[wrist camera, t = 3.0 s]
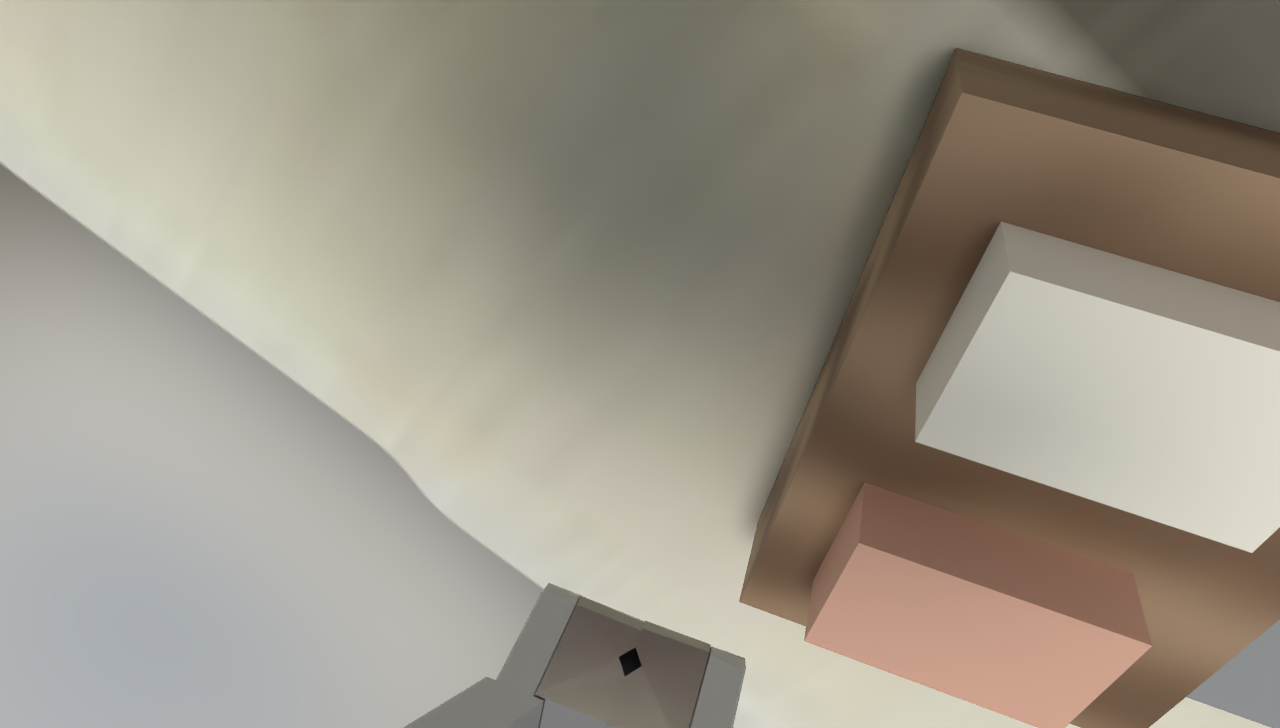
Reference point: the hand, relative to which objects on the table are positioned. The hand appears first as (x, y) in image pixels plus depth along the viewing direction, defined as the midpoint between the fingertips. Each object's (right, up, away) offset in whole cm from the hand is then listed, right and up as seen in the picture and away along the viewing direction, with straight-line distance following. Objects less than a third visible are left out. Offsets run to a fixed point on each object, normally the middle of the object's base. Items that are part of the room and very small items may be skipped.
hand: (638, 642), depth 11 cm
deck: (+13, +3, +14) cm, 19 cm away
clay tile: (+10, -3, +13) cm, 17 cm away
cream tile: (+12, +4, +8) cm, 15 cm away
